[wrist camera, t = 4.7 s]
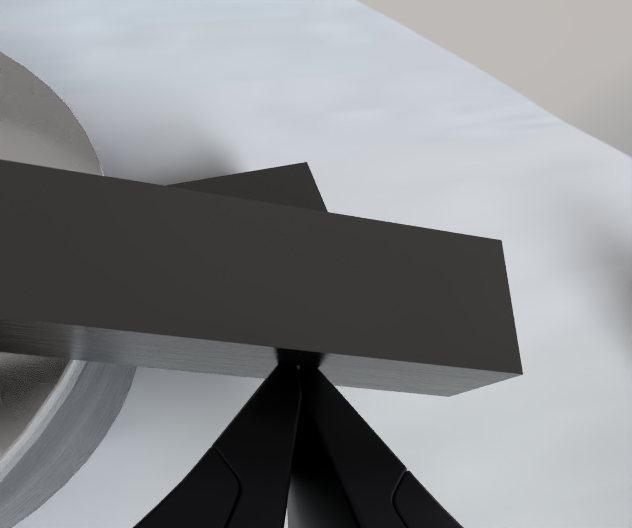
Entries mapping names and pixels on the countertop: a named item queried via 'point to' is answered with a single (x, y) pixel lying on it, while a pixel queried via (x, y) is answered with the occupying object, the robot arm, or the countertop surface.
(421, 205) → the countertop surface
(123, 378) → the cooker pot
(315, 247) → the cooker lid
